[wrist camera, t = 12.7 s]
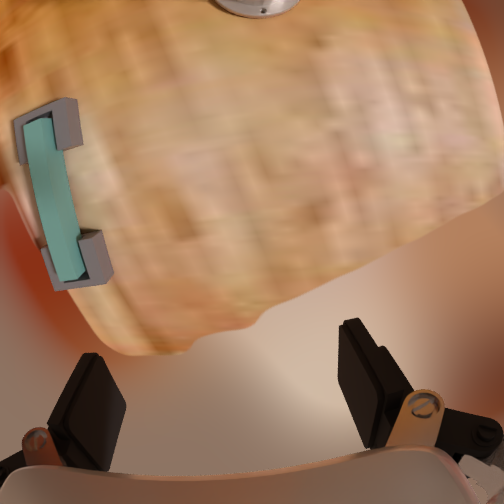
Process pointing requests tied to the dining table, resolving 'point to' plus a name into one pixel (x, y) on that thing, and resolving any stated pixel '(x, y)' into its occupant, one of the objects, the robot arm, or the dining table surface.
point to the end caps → (66, 139)
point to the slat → (54, 198)
